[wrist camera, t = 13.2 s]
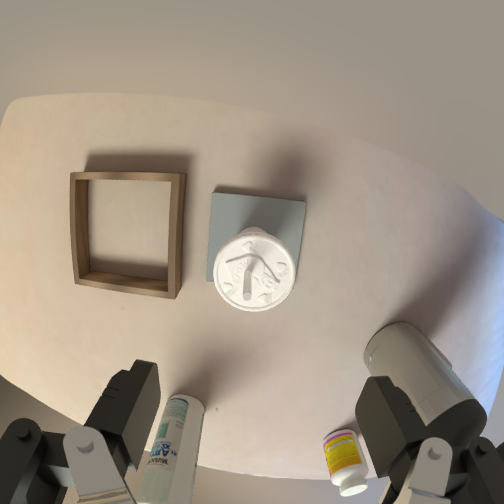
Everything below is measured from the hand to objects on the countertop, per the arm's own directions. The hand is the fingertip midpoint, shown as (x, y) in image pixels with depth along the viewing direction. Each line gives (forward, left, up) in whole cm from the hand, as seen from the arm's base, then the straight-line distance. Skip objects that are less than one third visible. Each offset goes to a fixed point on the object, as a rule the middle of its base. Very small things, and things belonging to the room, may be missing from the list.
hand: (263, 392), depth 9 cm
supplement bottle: (-20, +36, -23) cm, 47 cm away
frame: (+15, 0, -23) cm, 28 cm away
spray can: (+8, +28, -23) cm, 37 cm away
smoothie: (0, 0, -22) cm, 22 cm away
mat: (0, 0, -23) cm, 23 cm away
